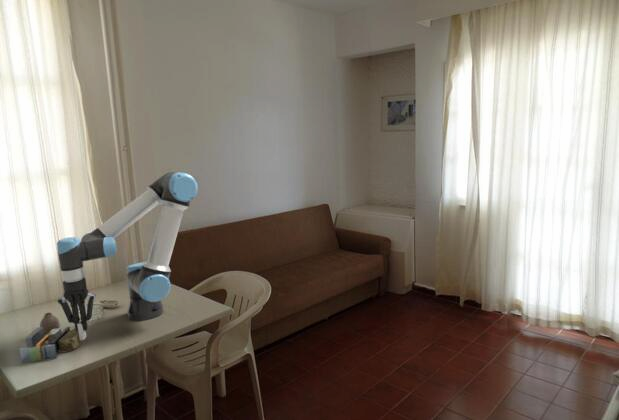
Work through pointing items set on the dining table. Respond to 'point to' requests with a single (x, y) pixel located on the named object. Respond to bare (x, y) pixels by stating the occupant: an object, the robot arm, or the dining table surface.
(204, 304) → the dining table surface
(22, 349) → the gauge housing
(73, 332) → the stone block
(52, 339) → the plunger
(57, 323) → the vase
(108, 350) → the dining table surface
